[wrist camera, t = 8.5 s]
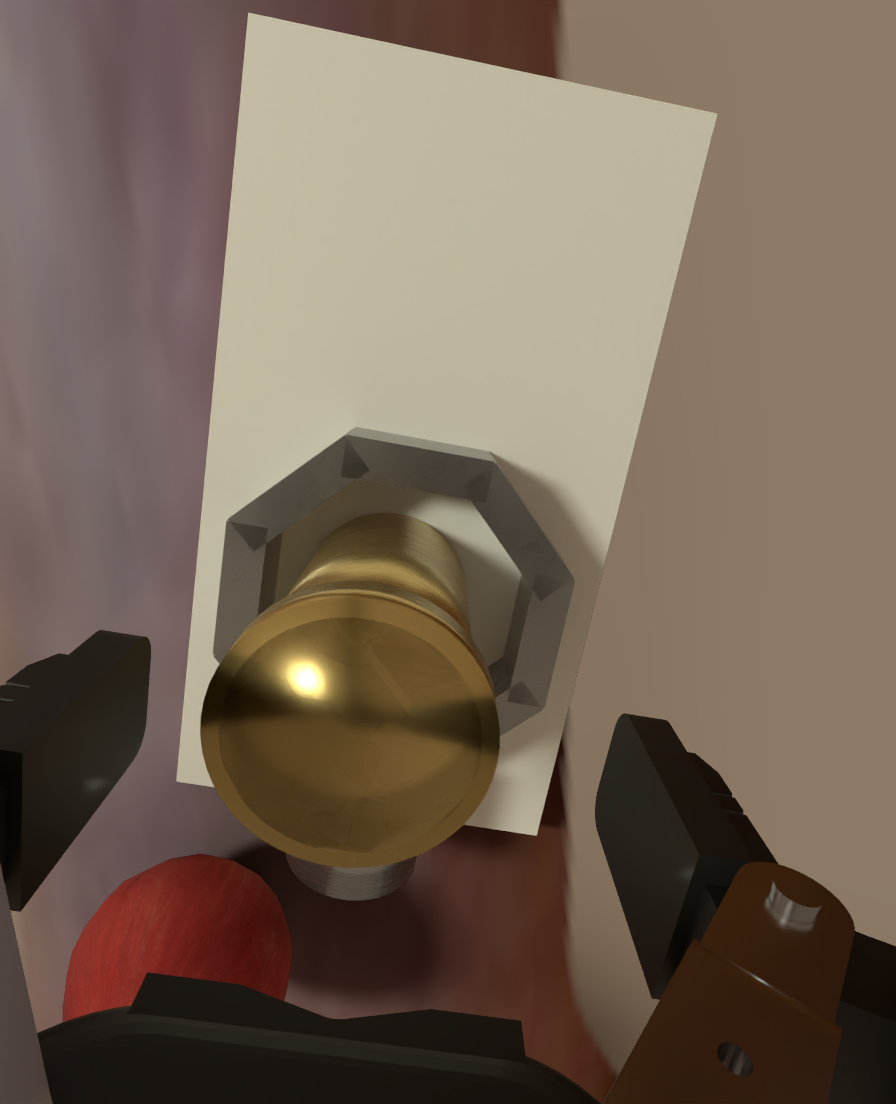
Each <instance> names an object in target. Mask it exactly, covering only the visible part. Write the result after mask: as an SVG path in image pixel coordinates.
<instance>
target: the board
mask: <svg viewBox="0 0 896 1104" xmlns="http://www.w3.org/2000/svg"><path fill="white" fill-rule="evenodd" d="M716 117H717V114H716V113H712V112H707V111H702V110H697V109H693V108H689V107H683V106H679V105H675V104H670V103H665V102H660V101H656V100H651V99H647V98H642V97H637V96H633V95H628V94H624V93H619V92H614V91H609V90H605V89H600V88H596V87H591V86H586V85H582V84H577V83H572V82H568V81H563V80H558V79H554V78H549V77H545V76H540V75H535V74H531V73H526V72H521V71H517V70H512V69H507V68H503V67H498V66H493V65H489V64H484V63H480V62H475V61H470V60H466V59H461V58H456V57H452V56H447V55H442V54H438V53H433V52H428V51H424V50H419V49H415V48H410V47H405V46H401V45H396V44H391V43H387V42H382V41H377V40H373V39H368V38H363V37H359V36H354V35H349V34H345V33H340V32H336V31H331V30H326V29H322V28H317V27H312V26H308V25H303V24H298V23H294V22H289V21H284V20H280V19H275V18H271V17H266V16H261V15H257V14H252V13H248V22H247V33H246V44H245V54H244V65H243V76H242V87H241V97H240V108H239V119H238V129H237V140H236V151H235V161H234V172H233V183H232V193H231V204H230V215H229V225H228V236H227V247H226V257H225V268H224V279H223V289H222V300H221V311H220V321H219V332H218V343H217V353H216V364H215V375H214V386H213V396H212V407H211V418H210V428H209V439H208V450H207V460H206V471H205V482H204V492H203V503H202V514H201V524H200V535H199V546H198V556H197V567H196V578H195V588H194V599H193V610H192V620H191V631H190V642H189V652H188V663H187V674H186V685H185V695H184V706H183V717H182V727H181V738H180V749H179V759H178V770H177V782H184V783H190V784H197V785H203V786H210V787H214V785H213V783H212V781H211V778H210V776H209V774H208V771H207V769H206V765H205V761H204V757H203V754H202V747H201V738H200V720H201V712H202V706H203V701H204V697H205V694H206V691H207V688H208V686H209V683H210V681H211V679H212V677H213V675H214V673H215V671H216V669H217V667H218V666H219V663H218V661H217V660H216V659H215V658H214V657H213V656H214V654H213V645H214V635H215V625H216V616H217V606H218V596H219V587H220V577H221V567H222V558H223V548H224V538H225V528H226V521H227V520H228V518H230V517H231V516H232V515H234V514H235V513H236V512H238V511H239V510H240V509H242V508H243V507H244V506H246V505H247V504H248V503H250V502H251V501H252V500H254V499H255V498H257V497H258V496H259V495H261V494H262V493H264V492H265V491H266V490H268V489H269V488H271V487H272V486H273V485H275V484H276V483H278V482H279V481H280V480H282V479H283V478H285V477H286V476H287V475H289V474H290V473H292V472H293V471H294V470H296V469H297V468H299V467H300V466H301V465H303V464H304V463H306V462H307V461H308V460H310V459H311V458H313V457H314V456H315V455H317V454H318V453H320V452H321V451H322V450H324V449H325V448H327V447H328V446H329V445H331V444H332V443H333V442H335V441H336V440H338V439H339V438H340V437H342V436H343V435H345V434H346V433H347V432H349V431H350V430H352V429H353V428H354V427H355V428H356V427H360V428H365V429H371V430H376V431H382V432H387V433H393V434H398V435H403V436H409V437H414V438H420V439H425V440H431V441H436V442H442V443H447V444H453V445H458V446H464V447H469V448H475V449H480V450H486V451H489V453H490V452H491V454H492V455H493V457H494V458H495V460H496V461H497V463H498V464H499V466H500V467H501V469H502V470H503V472H504V473H505V475H506V476H507V478H508V479H509V481H510V482H511V484H512V485H513V487H514V488H515V490H516V491H517V493H518V494H519V495H520V497H521V498H522V500H523V501H524V503H525V504H526V506H527V507H528V509H529V510H530V512H531V513H532V515H533V516H534V518H535V519H536V521H537V522H538V524H539V525H540V527H541V528H542V530H543V531H544V533H545V534H546V536H547V537H548V539H549V540H550V541H551V543H552V544H553V546H554V547H555V549H556V550H557V552H558V553H559V555H560V556H561V558H562V559H563V561H564V563H565V564H566V566H567V568H568V569H569V571H570V572H571V574H572V576H573V577H574V580H575V584H574V588H573V592H572V596H571V600H570V605H569V609H568V613H567V617H566V621H565V625H564V630H563V634H562V638H561V642H560V646H559V650H558V654H557V659H556V663H555V667H554V671H553V675H552V679H551V684H550V688H549V692H548V696H547V700H546V704H545V708H543V710H542V711H540V712H539V713H537V714H535V715H534V716H532V717H531V718H529V719H527V720H526V721H524V722H522V723H521V724H519V725H518V726H516V727H514V728H513V729H511V730H509V731H508V732H506V733H505V734H503V735H501V736H500V749H499V756H498V763H497V767H496V770H495V773H494V777H493V780H492V782H491V785H490V787H489V789H488V791H487V793H486V795H485V797H484V799H483V800H482V802H481V803H480V805H479V806H478V808H477V809H476V811H475V812H474V813H473V814H472V816H471V817H470V818H469V819H468V820H467V821H466V823H465V824H464V825H469V826H476V827H482V828H489V829H496V830H502V831H509V832H516V833H522V834H529V835H536V836H537V832H538V828H539V824H540V820H541V816H542V812H543V808H544V804H545V800H546V796H547V792H548V788H549V784H550V780H551V776H552V772H553V768H554V764H555V760H556V756H557V752H558V748H559V744H560V740H561V736H562V732H563V728H564V724H565V720H566V716H567V712H568V708H569V704H570V700H571V696H572V692H573V688H574V684H575V680H576V676H577V672H578V668H579V664H580V660H581V656H582V652H583V648H584V644H585V640H586V636H587V632H588V628H589V624H590V620H591V616H592V612H593V608H594V604H595V601H596V597H597V593H598V589H599V584H600V581H601V577H602V572H603V568H604V565H605V560H606V557H607V553H608V548H609V545H610V541H611V536H612V533H613V529H614V525H615V521H616V517H617V513H618V509H619V504H620V501H621V496H622V493H623V489H624V485H625V480H626V477H627V473H628V469H629V464H630V461H631V457H632V453H633V449H634V445H635V440H636V437H637V433H638V429H639V425H640V421H641V417H642V413H643V409H644V405H645V401H646V397H647V393H648V389H649V385H650V381H651V377H652V373H653V369H654V365H655V361H656V357H657V353H658V349H659V345H660V341H661V337H662V333H663V329H664V325H665V321H666V317H667V313H668V309H669V305H670V301H671V297H672V293H673V289H674V285H675V281H676V277H677V273H678V269H679V265H680V261H681V257H682V253H683V249H684V245H685V241H686V237H687V233H688V229H689V225H690V221H691V217H692V213H693V209H694V205H695V201H696V197H697V193H698V189H699V185H700V181H701V177H702V173H703V169H704V165H705V161H706V157H707V153H708V149H709V145H710V141H711V137H712V133H713V129H714V125H715V121H716ZM374 513H397V514H403V515H407V516H411V517H413V518H416V519H419V520H421V521H423V522H425V523H426V524H428V525H430V526H431V527H433V528H434V529H436V530H437V531H438V532H439V533H440V534H442V535H443V536H444V537H445V538H446V539H447V541H448V542H449V543H450V544H451V545H452V547H453V548H454V550H455V552H456V553H457V555H458V557H459V559H460V561H461V564H462V567H463V570H464V573H465V579H466V587H467V596H468V606H469V615H470V624H471V634H472V639H473V641H474V643H475V644H476V646H477V647H478V649H479V651H480V652H481V654H482V656H483V658H484V660H485V663H486V665H487V667H488V666H490V665H491V664H493V663H494V662H496V661H498V660H499V659H501V658H502V657H503V655H504V651H505V646H506V642H507V637H508V633H509V628H510V623H511V619H512V614H513V610H514V605H515V601H516V596H517V592H518V587H519V582H520V578H521V572H520V571H519V569H518V568H517V566H516V565H515V563H514V562H513V561H512V559H511V558H510V556H509V555H508V553H507V552H506V550H505V549H504V548H503V546H502V545H501V543H500V542H499V540H498V539H497V537H496V536H495V535H494V533H493V532H492V530H491V529H490V527H489V526H488V525H487V523H486V522H485V520H484V519H483V517H482V516H481V514H480V513H479V512H478V510H477V509H476V507H475V506H474V504H473V503H472V501H471V500H469V499H463V498H458V497H452V496H446V495H441V494H435V493H430V492H424V491H418V490H413V489H407V488H401V487H396V486H390V485H385V484H379V483H373V482H368V481H362V480H356V481H354V482H353V483H351V484H350V485H349V486H347V487H346V488H344V489H343V490H341V491H340V492H339V493H337V494H336V495H334V496H333V497H331V498H330V499H329V500H327V501H326V502H324V503H323V504H321V505H320V506H319V507H317V508H316V509H314V510H313V511H312V512H310V513H309V514H307V515H306V516H304V517H303V518H302V519H300V520H299V521H297V522H296V523H294V524H293V525H292V526H290V527H289V528H287V529H286V530H284V531H283V535H282V543H281V551H280V559H279V567H278V575H277V583H276V591H275V599H274V603H276V602H277V601H279V600H281V599H282V598H284V597H286V596H287V595H288V594H289V592H290V590H291V589H292V587H293V586H294V584H295V583H296V581H297V580H298V578H299V577H300V575H301V574H302V572H303V571H304V569H305V568H306V566H307V565H308V563H309V562H310V560H311V559H312V557H313V556H314V554H315V553H316V551H317V550H318V548H319V547H320V545H321V544H322V543H323V541H324V540H325V539H326V538H327V537H328V536H329V535H330V534H331V533H332V532H333V531H334V530H336V529H337V528H338V527H339V526H341V525H343V524H344V523H346V522H348V521H350V520H352V519H355V518H357V517H360V516H364V515H367V514H374Z"/></svg>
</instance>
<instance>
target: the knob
mask: <svg viewBox="0 0 896 1104" xmlns="http://www.w3.org/2000/svg"><path fill="white" fill-rule="evenodd" d="M200 738H201V747H202V754H203V757H204V761H205V765H206V769H207V771H208V774H209V776H210V778H211V781H212V783H213V785H214V787H215V789H216V791H217V792H218V794H219V796H220V797H221V799H222V801H223V802H224V803H225V805H226V806H227V807H228V808H229V810H230V811H231V812H232V814H233V815H234V816H235V817H236V818H237V819H238V820H239V821H240V822H241V823H242V824H243V825H244V826H245V827H246V828H247V829H249V830H250V831H251V832H252V833H254V834H255V835H256V836H258V837H259V838H260V839H262V840H263V841H265V842H267V843H268V844H270V845H272V846H273V847H275V848H277V849H279V850H281V851H283V852H285V853H287V854H290V855H292V856H294V857H297V858H300V859H303V860H306V861H309V862H313V863H318V864H322V865H327V866H335V867H345V868H365V867H375V866H382V865H388V864H392V863H396V862H400V861H404V860H406V859H409V858H412V857H414V856H417V855H420V854H422V853H424V852H426V851H428V850H429V849H431V848H433V847H435V846H437V845H438V844H440V843H441V842H443V841H444V840H446V839H447V838H449V837H450V836H451V835H453V834H454V833H455V832H456V831H457V830H458V829H459V828H460V827H462V826H463V825H464V824H465V823H466V821H467V820H468V819H469V818H470V817H471V816H472V814H473V813H474V812H475V811H476V809H477V808H478V806H479V805H480V803H481V802H482V800H483V799H484V797H485V795H486V793H487V791H488V789H489V787H490V785H491V782H492V780H493V777H494V773H495V770H496V767H497V763H498V756H499V749H500V727H499V720H498V713H497V706H496V700H495V694H494V687H493V683H492V680H491V676H490V673H489V669H488V667H487V665H486V663H485V660H484V658H483V656H482V654H481V652H480V651H479V649H478V647H477V646H476V644H475V643H474V641H473V639H472V634H471V624H470V615H469V606H468V596H467V587H466V579H465V573H464V570H463V567H462V564H461V561H460V559H459V557H458V555H457V553H456V552H455V550H454V548H453V547H452V545H451V544H450V543H449V542H448V541H447V539H446V538H445V537H444V536H443V535H442V534H440V533H439V532H438V531H437V530H436V529H434V528H433V527H431V526H430V525H428V524H426V523H425V522H423V521H421V520H419V519H416V518H413V517H411V516H407V515H403V514H397V513H374V514H367V515H364V516H360V517H357V518H355V519H352V520H350V521H348V522H346V523H344V524H343V525H341V526H339V527H338V528H337V529H336V530H334V531H333V532H332V533H331V534H330V535H329V536H328V537H327V538H326V539H325V540H324V541H323V543H322V544H321V545H320V547H319V548H318V550H317V551H316V553H315V554H314V556H313V557H312V559H311V560H310V562H309V563H308V565H307V566H306V568H305V569H304V571H303V572H302V574H301V575H300V577H299V578H298V580H297V581H296V583H295V584H294V586H293V587H292V589H291V590H290V592H289V594H288V595H287V596H286V597H284V598H282V599H281V600H279V601H277V602H276V603H274V604H272V605H271V606H269V607H268V608H267V609H266V610H264V611H263V612H262V613H261V614H259V615H258V616H257V617H256V618H255V619H254V620H253V621H252V622H251V623H250V624H249V625H248V626H247V627H246V628H245V630H244V631H243V632H242V634H241V635H240V637H239V638H238V639H237V641H236V642H235V643H234V645H233V646H232V647H231V649H230V650H229V652H228V653H227V654H226V656H225V657H224V659H223V660H222V661H221V663H220V664H219V666H218V667H217V669H216V671H215V673H214V675H213V677H212V679H211V681H210V683H209V686H208V688H207V691H206V694H205V697H204V701H203V706H202V712H201V720H200Z"/></svg>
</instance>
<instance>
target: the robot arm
mask: <svg viewBox="0 0 896 1104" xmlns="http://www.w3.org/2000/svg"><path fill="white" fill-rule="evenodd" d="M150 660H151V645H150V641H149V639H148V638H147V637H142V636H136V635H130V634H123V633H117V632H111V631H104V630H99V631H97V632H96V633H95V634H93V635H92V636H91V637H90V638H89V639H87V640H86V641H85V642H84V643H82V644H81V645H80V646H79V647H78V648H76V649H75V650H74V651H73V652H71V653H70V654H69V655H65V654H56V655H54V656H51V657H48V658H46V659H43V660H41V661H38V662H35V663H33V664H30V665H28V666H26V667H25V668H24V669H22V670H21V671H20V672H18V673H17V674H16V675H14V676H13V677H12V678H11V679H9V680H8V681H7V682H6V685H1V686H0V1104H601V1103H600V1102H598V1101H597V1100H596V1099H595V1098H594V1097H592V1096H591V1095H590V1094H589V1093H588V1092H586V1091H585V1090H584V1089H583V1088H581V1087H580V1086H579V1085H578V1084H576V1083H575V1082H573V1081H572V1080H570V1079H569V1078H567V1077H566V1076H564V1075H563V1074H561V1073H560V1072H558V1071H556V1070H554V1069H552V1068H550V1067H548V1066H547V1065H545V1064H543V1063H541V1062H539V1061H537V1060H534V1059H532V1058H530V1057H527V1056H525V1049H524V1040H523V1032H522V1024H521V1021H519V1020H511V1019H503V1018H496V1017H488V1016H480V1015H472V1014H465V1013H457V1012H449V1011H442V1010H434V1009H429V1010H420V1011H411V1012H402V1013H394V1014H385V1015H376V1016H368V1017H359V1018H350V1019H330V1018H327V1017H323V1016H321V1015H318V1014H316V1013H313V1012H311V1011H308V1010H305V1009H303V1008H300V1007H298V1006H295V1005H293V1004H290V1003H288V1002H285V1001H282V1000H280V999H277V998H275V997H272V996H270V995H267V994H264V993H262V992H259V991H257V990H254V989H252V988H249V987H247V986H244V985H241V984H234V983H227V982H219V981H211V980H203V979H196V978H188V977H180V976H173V975H165V974H157V973H150V972H147V974H146V976H145V978H144V980H143V982H142V984H141V986H140V989H139V991H138V993H137V995H136V997H135V999H134V1001H133V1003H132V1006H124V1007H117V1008H112V1009H107V1010H103V1011H98V1012H93V1013H90V1014H87V1015H84V1016H80V1017H77V1018H74V1019H71V1020H68V1021H65V1022H63V1023H60V1024H58V1025H56V1026H53V1027H51V1028H49V1029H46V1030H44V1031H41V1032H39V1033H37V1031H36V1027H35V1022H34V1017H33V1013H32V1008H31V1003H30V999H29V994H28V990H27V985H26V980H25V976H24V971H23V966H22V962H21V957H20V953H19V948H18V943H17V939H16V934H15V929H14V925H13V920H12V916H11V911H10V910H12V911H19V912H21V910H22V909H23V908H24V906H25V905H26V904H27V902H28V901H29V900H30V898H31V897H32V896H33V894H34V893H35V892H36V890H37V889H38V888H39V886H40V885H41V884H42V882H43V881H44V880H45V878H46V877H47V875H48V874H49V873H50V871H51V870H52V869H53V867H54V866H55V865H56V863H57V862H58V861H59V859H60V858H61V857H62V855H63V854H64V853H65V851H66V850H67V849H68V847H69V846H70V845H71V843H72V842H73V841H74V839H75V838H76V837H77V835H78V834H79V833H80V831H81V830H82V829H83V827H84V826H85V825H86V823H87V822H88V821H89V819H90V818H91V817H92V815H93V814H94V813H95V811H96V810H97V809H98V807H99V806H100V805H101V803H102V802H103V800H104V799H105V798H106V796H107V795H108V794H109V792H110V791H111V790H112V788H113V787H114V786H115V784H116V783H117V782H118V780H119V779H120V778H121V776H122V775H123V774H124V772H125V771H126V770H127V768H128V767H129V766H130V764H131V763H132V762H133V760H134V759H135V757H136V755H137V753H138V751H139V748H140V746H141V743H142V740H143V736H144V732H145V727H146V719H147V704H148V689H149V674H150ZM595 820H596V827H597V831H598V835H599V837H600V841H601V844H602V847H603V850H604V853H605V856H606V859H607V862H608V865H609V868H610V871H611V874H612V878H613V881H614V883H615V887H616V890H617V893H618V896H619V899H620V902H621V905H622V908H623V911H624V914H625V917H626V921H627V923H628V926H629V930H630V933H631V936H632V939H633V942H634V945H635V948H636V951H637V954H638V957H639V960H640V964H641V967H642V970H643V972H644V976H645V979H646V982H647V985H648V988H649V991H650V994H651V997H652V999H659V1000H660V1001H659V1002H658V1004H657V1006H656V1008H655V1010H654V1012H653V1013H652V1015H651V1017H650V1019H649V1021H648V1023H647V1024H646V1026H645V1028H644V1030H643V1032H642V1034H641V1035H640V1037H639V1039H638V1041H637V1043H636V1044H635V1046H634V1048H633V1050H632V1052H631V1053H630V1055H629V1057H628V1059H627V1061H626V1062H625V1064H624V1066H623V1068H622V1070H621V1071H620V1073H619V1075H618V1077H617V1079H616V1081H615V1082H614V1084H613V1086H612V1088H611V1090H610V1091H609V1093H608V1095H607V1097H606V1099H605V1101H604V1102H603V1104H896V946H893V945H890V944H888V943H885V942H882V941H880V940H877V939H874V938H872V937H868V936H866V935H863V934H861V933H859V932H856V931H855V927H854V922H853V920H852V917H851V915H850V914H849V912H848V911H847V909H846V908H845V906H844V905H843V904H842V903H841V902H840V901H839V899H838V898H836V897H835V896H834V895H833V894H832V893H831V892H830V891H829V890H827V889H826V888H825V887H824V886H822V885H821V884H819V883H818V882H816V881H815V880H813V879H812V878H810V877H808V876H806V875H804V874H802V873H800V872H798V871H796V870H793V869H791V868H788V867H786V866H782V865H779V864H778V863H777V862H776V860H775V858H774V857H773V855H772V854H771V852H770V851H769V849H768V848H767V846H766V844H765V843H764V841H763V840H762V838H761V837H760V835H759V834H758V832H757V831H756V829H755V828H754V826H753V825H752V823H751V822H750V820H749V819H748V817H747V816H746V815H743V809H742V808H741V807H740V805H739V804H738V802H737V800H736V799H735V798H732V793H731V791H730V790H729V788H728V787H727V785H726V784H725V782H724V780H723V779H722V777H721V776H720V774H719V773H718V772H717V771H716V770H714V769H713V768H712V767H711V766H710V765H708V764H707V763H706V762H704V760H702V759H701V758H700V757H699V756H698V755H696V754H695V753H689V752H687V751H686V749H685V748H684V746H683V745H682V743H681V741H680V740H679V738H678V736H677V735H676V733H675V731H674V730H673V728H672V726H671V725H670V723H669V722H668V721H666V720H662V719H656V718H649V717H643V716H636V715H630V714H622V715H621V716H620V717H619V719H618V721H617V723H616V726H615V729H614V733H613V736H612V740H611V744H610V747H609V751H608V755H607V758H606V762H605V765H604V769H603V773H602V776H601V780H600V784H599V788H598V792H597V796H596V806H595Z"/></svg>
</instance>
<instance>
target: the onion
mask: <svg viewBox="0 0 896 1104" xmlns="http://www.w3.org/2000/svg"><path fill="white" fill-rule="evenodd" d="M290 966H291V935H290V932H289V929H288V925H287V922H286V919H285V916H284V912H283V909H282V907H281V905H280V903H279V900H278V898H277V896H276V894H275V893H274V892H273V891H272V890H271V889H270V887H269V886H268V885H267V884H266V883H265V881H264V880H263V879H262V878H261V877H260V876H259V875H258V874H257V873H255V872H253V871H251V870H249V869H248V868H246V867H244V866H242V865H240V864H238V863H237V862H235V861H233V860H230V859H225V858H219V857H215V856H211V855H205V854H197V855H190V856H184V857H178V858H172V859H169V860H167V861H165V862H162V863H160V864H158V865H156V866H154V867H152V868H150V869H148V870H146V871H144V872H142V873H140V874H138V875H136V876H134V877H132V878H130V879H128V880H126V881H124V882H123V883H122V884H121V885H120V886H119V887H118V888H117V889H116V890H115V891H114V892H113V893H112V894H111V895H110V896H109V897H108V898H107V899H106V900H105V901H104V903H103V904H102V905H101V907H100V908H99V909H98V911H97V912H96V913H95V914H94V916H93V917H92V918H91V920H90V921H89V922H88V924H87V925H86V926H85V928H84V930H83V931H82V933H81V935H80V937H79V939H78V941H77V943H76V945H75V947H74V949H73V951H72V955H71V959H70V964H69V968H68V973H67V979H66V986H65V994H64V1002H63V1022H65V1021H68V1020H71V1019H74V1018H77V1017H80V1016H84V1015H87V1014H90V1013H93V1012H98V1011H103V1010H107V1009H112V1008H117V1007H124V1006H132V1003H133V1001H134V999H135V997H136V995H137V993H138V991H139V989H140V986H141V984H142V982H143V980H144V978H145V976H146V974H147V972H150V973H157V974H165V975H173V976H180V977H188V978H196V979H203V980H211V981H219V982H227V983H234V984H241V985H244V986H247V987H249V988H252V989H254V990H257V991H259V992H262V993H264V994H267V995H270V996H272V997H275V998H277V999H280V1000H282V1001H284V999H285V995H286V992H287V986H288V979H289V973H290Z"/></svg>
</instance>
